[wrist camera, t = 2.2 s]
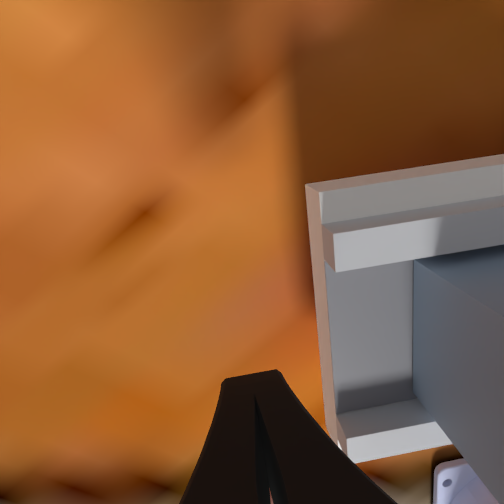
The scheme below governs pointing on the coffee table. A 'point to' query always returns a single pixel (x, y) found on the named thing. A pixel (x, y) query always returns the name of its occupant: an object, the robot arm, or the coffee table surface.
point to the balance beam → (388, 289)
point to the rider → (463, 354)
